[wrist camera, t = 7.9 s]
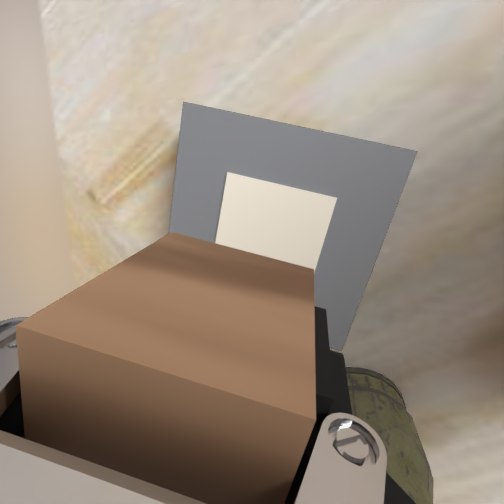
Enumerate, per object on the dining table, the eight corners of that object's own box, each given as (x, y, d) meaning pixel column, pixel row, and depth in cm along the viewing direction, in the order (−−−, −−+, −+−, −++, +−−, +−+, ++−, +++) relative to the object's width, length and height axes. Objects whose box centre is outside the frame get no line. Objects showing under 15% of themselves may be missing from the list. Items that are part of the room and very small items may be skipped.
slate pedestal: (205, 109, 22) (181, 101, 18) (399, 150, 21) (418, 151, 17) (182, 278, 27) (160, 300, 23) (337, 321, 26) (341, 352, 22)
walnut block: (172, 232, 11) (15, 325, 5) (313, 268, 10) (316, 419, 4) (158, 348, 12) (31, 513, 7) (278, 384, 12) (248, 596, 6)
